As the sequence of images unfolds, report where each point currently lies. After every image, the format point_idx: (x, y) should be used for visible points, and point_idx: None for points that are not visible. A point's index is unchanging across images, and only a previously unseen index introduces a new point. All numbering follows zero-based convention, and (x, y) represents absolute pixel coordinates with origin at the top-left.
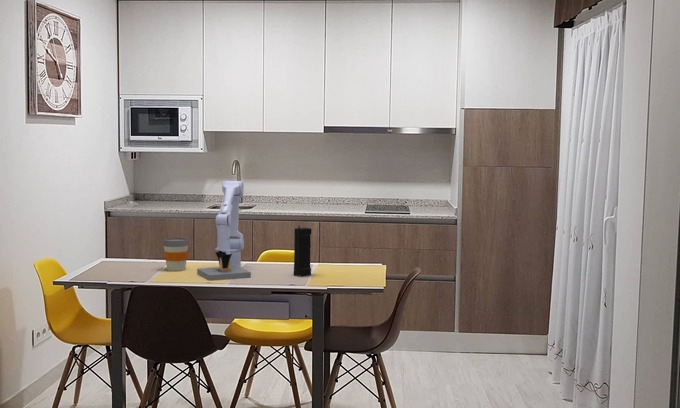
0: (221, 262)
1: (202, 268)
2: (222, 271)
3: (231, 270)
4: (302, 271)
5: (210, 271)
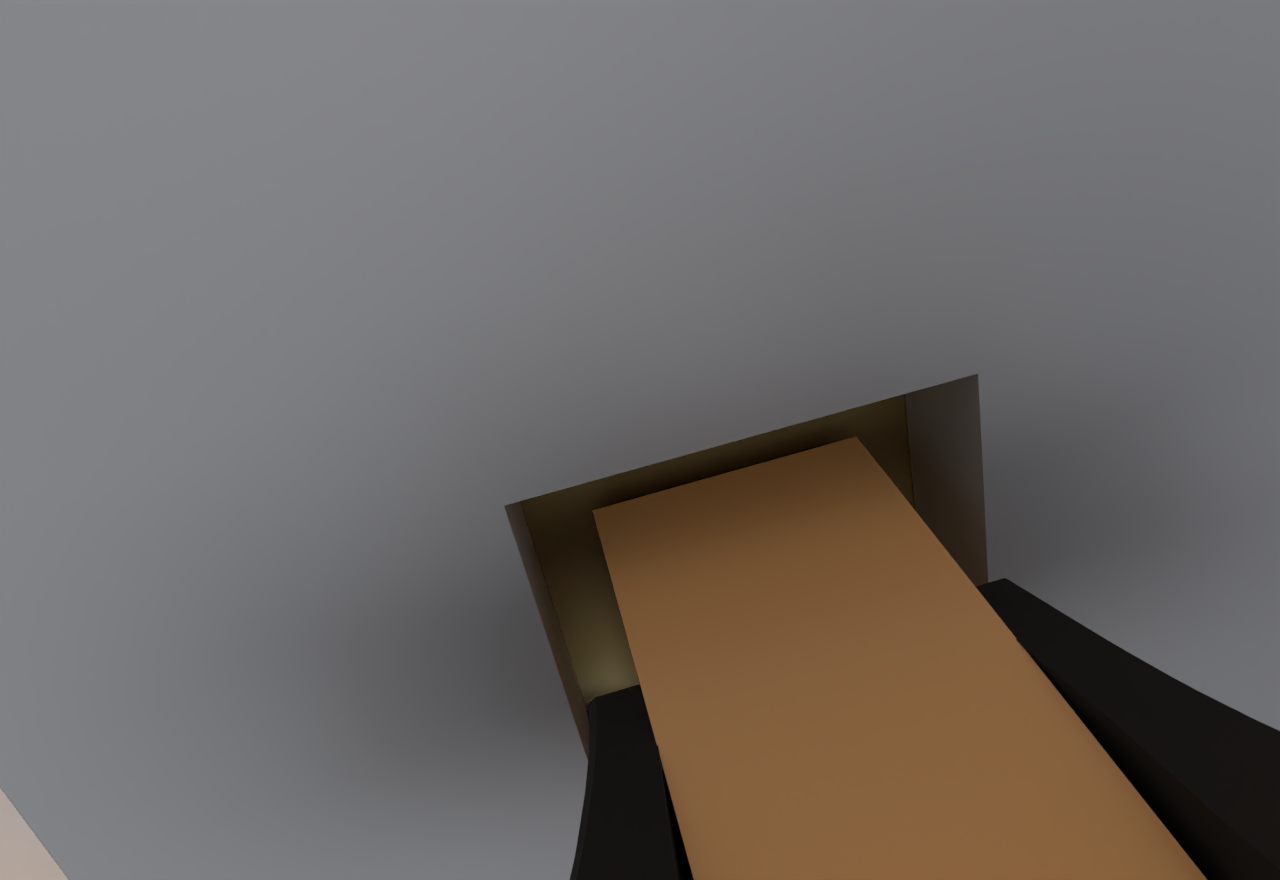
0: (810, 802)
1: None
2: (617, 589)
3: None
4: None
5: (644, 151)
